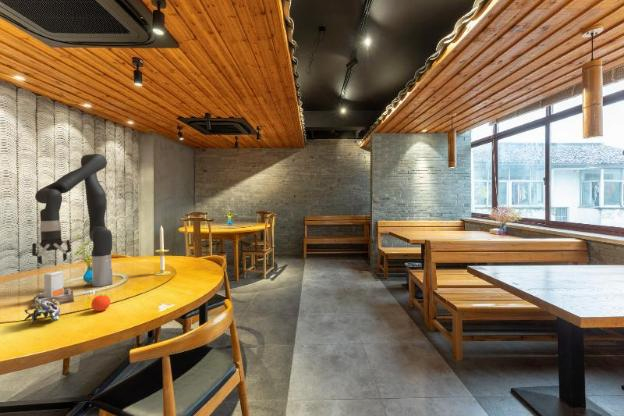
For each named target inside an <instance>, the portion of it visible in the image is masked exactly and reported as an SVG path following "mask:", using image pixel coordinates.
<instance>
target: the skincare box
mask: <svg viewBox="0 0 624 416" xmlns="http://www.w3.org/2000/svg"><path fill="white" fill-rule="evenodd" d="M43 278H44V280H43V283H44V293H45V298H49V297H55V296H61V295H64V294H63V290H64V272H63V271H53V272H49V273H46V274H43Z"/></svg>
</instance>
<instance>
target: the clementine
mask: <svg viewBox="0 0 624 416" xmlns="http://www.w3.org/2000/svg"><path fill="white" fill-rule="evenodd" d="M109 296H111V298H113V297H112V295H111V294H109V295H108V294H100V295H97V296H95V297H94V298H93V299H92V301H91V308H92V309H93V310H94V311H96V312H103V311H105V310H107V309H108V308H109V307H110V305H111V298H110V297H109Z"/></svg>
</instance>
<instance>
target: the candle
mask: <svg viewBox="0 0 624 416" xmlns="http://www.w3.org/2000/svg"><path fill="white" fill-rule="evenodd" d="M164 240H165V239H164V228H163V226H162V225H160V228H159V249H156V250H154V252H155V253H159V260H160V262H159V263H160V267H159V269H160V271H158V272H154V274H153V275H154V276H165V275H169V274H170V275H171V273H172V271H168V270H165V268H166V267H165V252H166V253H167V252H169V251H170V249H164V248H165V247H164V246H165V245H164Z"/></svg>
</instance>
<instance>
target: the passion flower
mask: <svg viewBox="0 0 624 416" xmlns="http://www.w3.org/2000/svg"><path fill="white" fill-rule="evenodd" d="M36 302H37V303H38V304H39V305H40V307H39V308H37V307H35V309H33V312H31V313H30V312H28V309H26V308H25V309H24V310H23V311H24V312H25V314H26V315H27V314H28V315H27V316H26V317H25V318H24V319H23V322H25V321H27V320H29V318H31V320H30V325H32V324H33V322H35V321H36V320H37V318H38V317H41V316H42V315H43V316H44V318H45V319H46V318H47V317H49V318H50V319H51V320H52V321H59V320H60V318H59V315H60V314H61V308H60V307H59V306H62V304H61V303H60V302H58V301H57V299H53V300H52V302H53V303H54V304H53V303H52V302H50V301H47V300H46V301H45V300H42V301H41V300H39V301H38V300H36ZM55 304H58V305H55Z"/></svg>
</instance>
